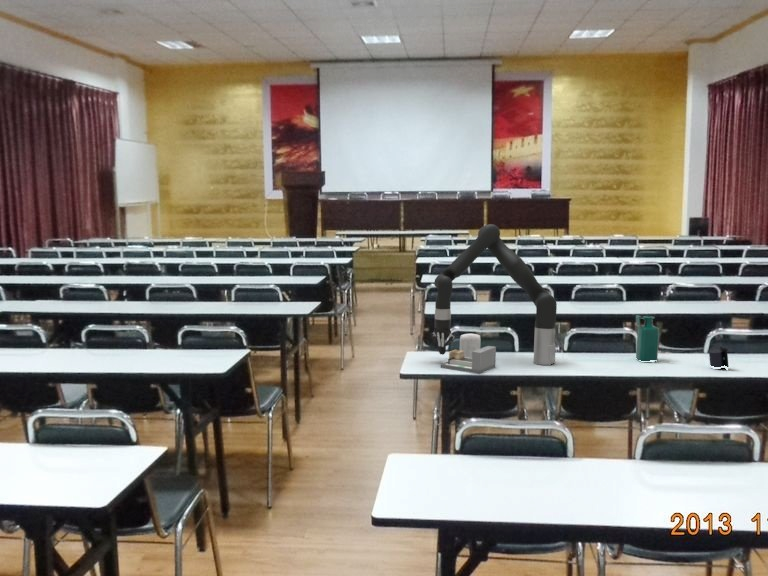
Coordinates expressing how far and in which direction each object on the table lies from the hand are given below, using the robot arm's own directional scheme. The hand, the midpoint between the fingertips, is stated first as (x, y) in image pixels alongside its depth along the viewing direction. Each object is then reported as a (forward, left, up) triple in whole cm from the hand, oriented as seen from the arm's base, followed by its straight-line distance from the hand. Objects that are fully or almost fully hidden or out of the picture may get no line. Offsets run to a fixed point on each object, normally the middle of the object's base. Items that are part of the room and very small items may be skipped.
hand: (442, 354), depth 334 cm
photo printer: (-6, -17, -5) cm, 18 cm away
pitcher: (-77, -64, -5) cm, 100 cm away
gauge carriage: (-8, +3, -3) cm, 9 cm away
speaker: (-109, -66, -5) cm, 127 cm away
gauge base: (-14, 0, -4) cm, 15 cm away
